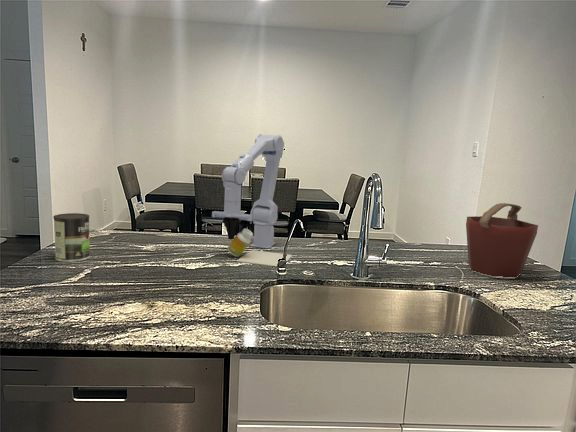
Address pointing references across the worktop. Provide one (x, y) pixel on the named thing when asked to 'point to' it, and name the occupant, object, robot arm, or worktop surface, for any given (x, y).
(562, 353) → the worktop surface
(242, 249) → the supplement bottle
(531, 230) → the bucket
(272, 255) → the mat
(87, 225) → the coffee can
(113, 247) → the worktop surface
